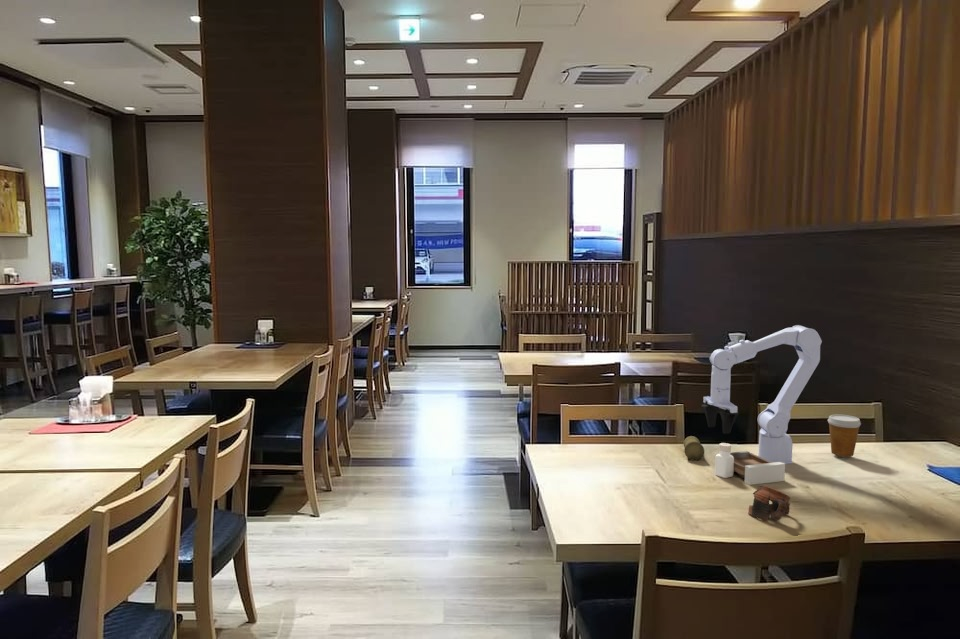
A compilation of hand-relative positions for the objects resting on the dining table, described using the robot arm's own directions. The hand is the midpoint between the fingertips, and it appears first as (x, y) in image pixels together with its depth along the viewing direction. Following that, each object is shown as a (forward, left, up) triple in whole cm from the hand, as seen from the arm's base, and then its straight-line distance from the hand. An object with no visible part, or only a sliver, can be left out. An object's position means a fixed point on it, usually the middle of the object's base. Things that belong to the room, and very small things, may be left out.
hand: (718, 429), depth 208 cm
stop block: (0, +22, -9) cm, 23 cm away
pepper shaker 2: (+8, +14, -10) cm, 19 cm away
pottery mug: (+18, +44, -10) cm, 49 cm away
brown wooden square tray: (0, +14, -9) cm, 17 cm away
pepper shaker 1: (+8, -1, -6) cm, 10 cm away
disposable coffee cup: (-42, +7, -10) cm, 44 cm away
